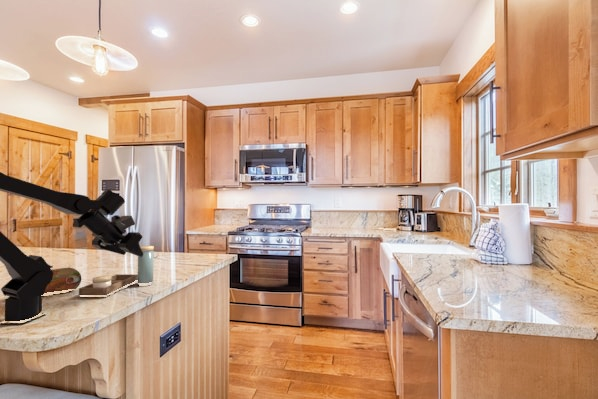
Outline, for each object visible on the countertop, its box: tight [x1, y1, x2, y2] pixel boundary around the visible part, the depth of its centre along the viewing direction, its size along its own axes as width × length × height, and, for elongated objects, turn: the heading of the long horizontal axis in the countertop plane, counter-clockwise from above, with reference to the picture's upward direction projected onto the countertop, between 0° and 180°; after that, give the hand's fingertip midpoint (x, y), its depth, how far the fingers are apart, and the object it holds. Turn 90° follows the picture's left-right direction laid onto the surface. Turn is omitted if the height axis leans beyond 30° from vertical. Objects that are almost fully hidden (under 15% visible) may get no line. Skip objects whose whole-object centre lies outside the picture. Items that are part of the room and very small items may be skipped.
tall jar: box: [137, 245, 155, 284], centre depth 103 cm, size 5×5×14 cm
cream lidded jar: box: [92, 275, 113, 288], centre depth 93 cm, size 5×5×5 cm
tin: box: [44, 267, 82, 293], centre depth 92 cm, size 15×3×8 cm, turn 129°
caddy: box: [78, 273, 138, 296], centre depth 97 cm, size 18×9×3 cm, turn 179°
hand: (133, 254), depth 99 cm, fingers open, 9 cm apart
